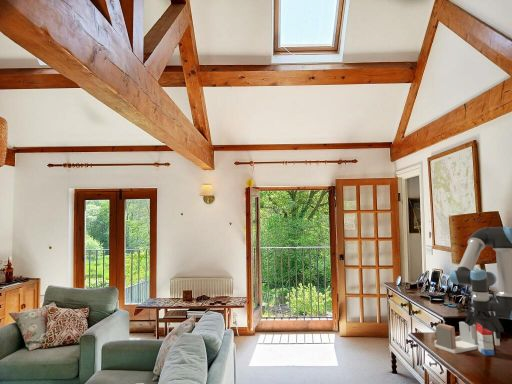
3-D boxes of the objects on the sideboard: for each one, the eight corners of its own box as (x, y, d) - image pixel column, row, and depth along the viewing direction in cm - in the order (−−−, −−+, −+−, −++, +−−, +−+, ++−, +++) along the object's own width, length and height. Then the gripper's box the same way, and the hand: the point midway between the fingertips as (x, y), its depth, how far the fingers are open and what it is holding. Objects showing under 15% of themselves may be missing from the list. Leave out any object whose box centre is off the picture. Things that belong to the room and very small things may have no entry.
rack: (463, 341, 213) (461, 318, 214) (484, 347, 201) (481, 323, 202) (434, 346, 205) (432, 323, 206) (454, 353, 193) (452, 328, 194)
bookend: (463, 339, 210) (462, 321, 211) (478, 343, 202) (476, 325, 203) (460, 340, 209) (458, 322, 211) (474, 344, 201) (473, 325, 202)
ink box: (495, 355, 187) (491, 326, 189) (484, 355, 188) (481, 325, 190) (488, 350, 196) (485, 322, 197) (477, 350, 197) (475, 321, 198)
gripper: (455, 297, 205) (458, 336, 203) (498, 304, 182) (503, 349, 180) (465, 295, 208) (468, 334, 205) (509, 303, 185) (513, 347, 182)
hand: (484, 341), depth 193 cm, fingers open, 13 cm apart
